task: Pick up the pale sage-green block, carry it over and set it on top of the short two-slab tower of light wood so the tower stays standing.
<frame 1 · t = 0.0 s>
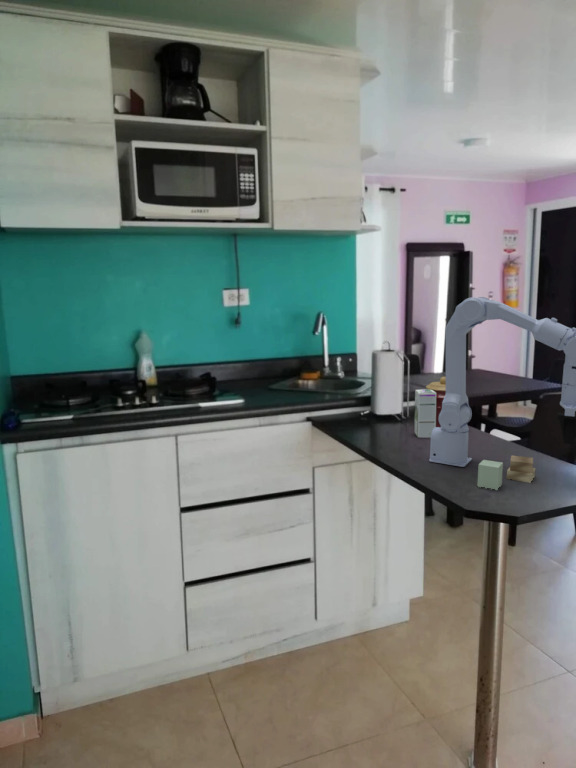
hand: (571, 440, 135), 10 cm above the breakfast bar, tool pointing down, fingers open, 7 cm apart
canister: (441, 429, 187), on the breakfast bar
slab bottom: (520, 478, 139), on the breakfast bar, touching slab top
slab top: (521, 469, 138), point 2 cm above the breakfast bar, touching slab bottom
block: (489, 485, 133), on the breakfast bar
syrup box: (424, 436, 179), on the breakfast bar
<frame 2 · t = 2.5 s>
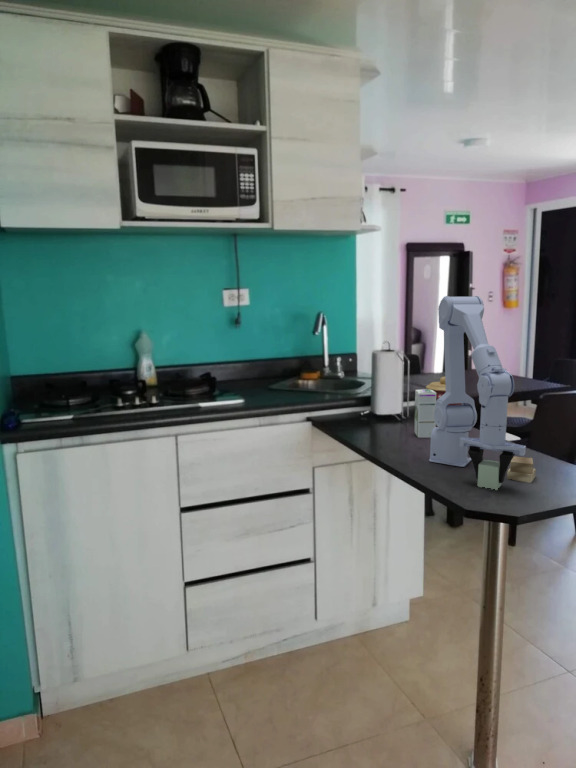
hand: (489, 479, 133), 1 cm above the breakfast bar, tool pointing down, fingers closed on block, 4 cm apart
block: (489, 485, 133), on the breakfast bar, touching gripper
everything else where it was.
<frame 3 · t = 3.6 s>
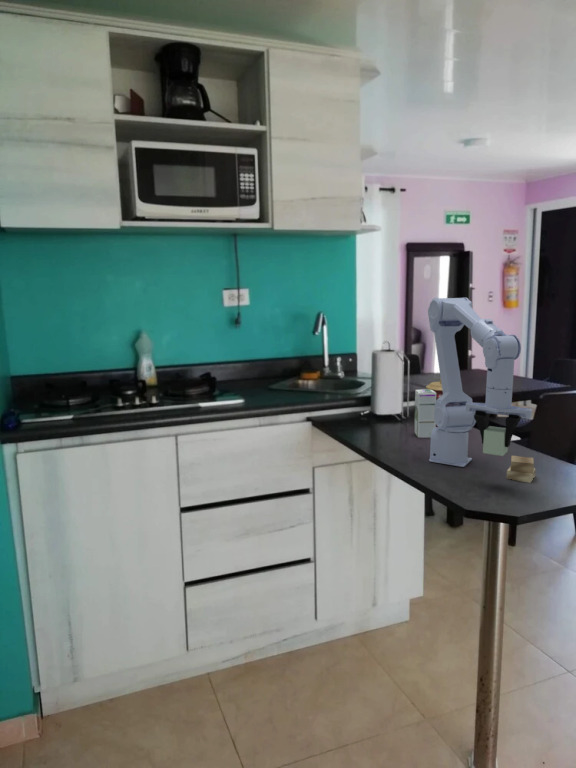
hand: (495, 444, 132), 10 cm above the breakfast bar, tool pointing down, fingers closed on block, 4 cm apart
block: (495, 452, 132), point 8 cm above the breakfast bar, touching gripper
everything else where it was.
when the fingers open (8 cm above the breakfast bar, at t = 5.0 s): block drops 1 cm, point 5 cm above the breakfast bar.
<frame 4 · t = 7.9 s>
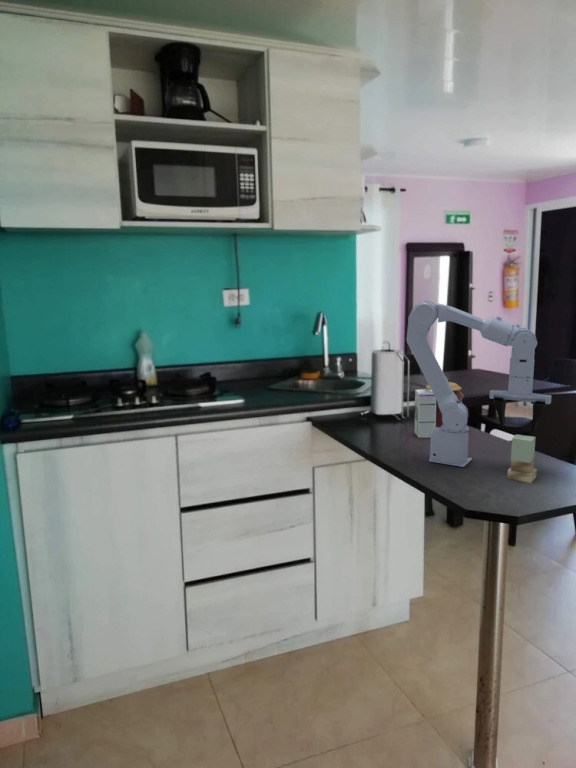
hand: (517, 428, 145), 10 cm above the breakfast bar, tool pointing down, fingers open, 7 cm apart
slab bottom: (521, 479, 139), on the breakfast bar
slab top: (522, 469, 138), point 2 cm above the breakfast bar
block: (522, 459, 138), point 5 cm above the breakfast bar
everything else where it was.
at the end: block 0.1 cm off-centre on the slab top, point 2.5 cm above the slab top's base; block tilted 0°; slab top moved 0.6 cm from its start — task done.
